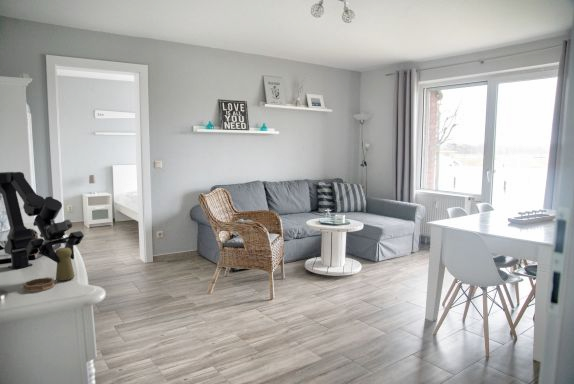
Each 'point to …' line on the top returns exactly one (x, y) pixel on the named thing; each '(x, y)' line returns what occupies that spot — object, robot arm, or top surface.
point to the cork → (64, 264)
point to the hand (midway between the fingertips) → (66, 260)
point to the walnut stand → (39, 285)
